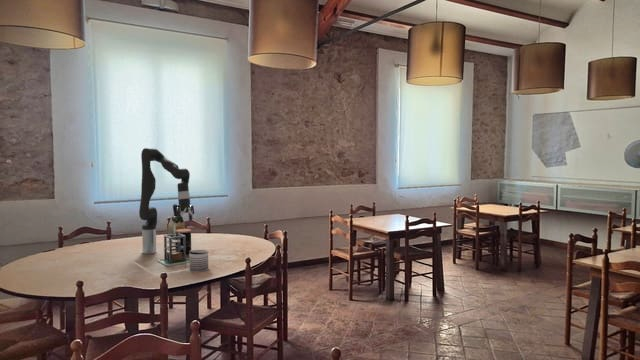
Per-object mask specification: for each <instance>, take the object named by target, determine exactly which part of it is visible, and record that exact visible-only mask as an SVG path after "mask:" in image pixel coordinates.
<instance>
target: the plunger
mask: <svg viewBox="0 0 640 360" xmlns="http://www.w3.org/2000/svg"><path fill="white" fill-rule="evenodd" d="M173 216H174V215H173ZM173 216H171V219H172V221H174V237H176V231H175V221H177V217H176V216H174V217H173ZM177 242H180V240H178V239H174V240H172V244H175V243H177Z"/></svg>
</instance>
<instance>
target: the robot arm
mask: <svg viewBox="0 0 640 360" xmlns="http://www.w3.org/2000/svg"><path fill="white" fill-rule="evenodd" d="M140 157H141V195H140V203H139V210H138V213H139V218H140V220H142V221H145V222H144V223H143V224H142V225H141V234H142V237H141V238H142V240H141V241H142V244H141V245H142V254H145V255H147V254H148V255H150V254H155V253H157V225H158V211H157V210H158V209H156V207H155V206H153V205H151V206H150V201H151V198H152V197H153V195H154V193H155V190H156V183H157V182H156V181H157V180H156V177H155V175H154V173H153V171H152V168H151V162H157V163H160V164H161V166H162V168H163V169H164V170H165V171H167V172H168V173H170V174H171V176H172V177H173V178H175V179H177V180H181V181H180V182H179V183H177V185H176V186H177V199H178V205H179V206H180V207H178V208H176V216H177V217H179V221H180V223H183V220H184V217H183V216H184V214H187V215H188V221H190V222H192V221H193V215H194V214H195V208H194V205H191V198H190V191H189V190H190V189H189V183H190V176H191V175H190V171H189V170H188V168H180V167H179V166H178V165H177V164H176V163H175V162H173V161H172V160H170V159H168V157H167V156H165V155H164V154H163V153H162V152H161V151H160V150H159V149H157V148H155V147H145V148H143V149H142V151H141V155H140Z"/></svg>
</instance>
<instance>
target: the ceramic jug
mask: <svg viewBox="0 0 640 360" xmlns="http://www.w3.org/2000/svg"><path fill="white" fill-rule="evenodd" d="M178 207H180V205H179V204H176V203H174V204H172V209H173V211H172V212H173V216H172V217H174V216H176V208H178ZM176 217H177V216H176ZM178 229H188V227H187V224H186V222H185V220H184V219H183V223H180V221H179V217H177V221H175V230H178ZM170 234H174V221H172V218H171V219H170V221H169V223H168V226H167V235H170ZM169 237H174V236H169ZM172 240H174V239H172Z"/></svg>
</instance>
